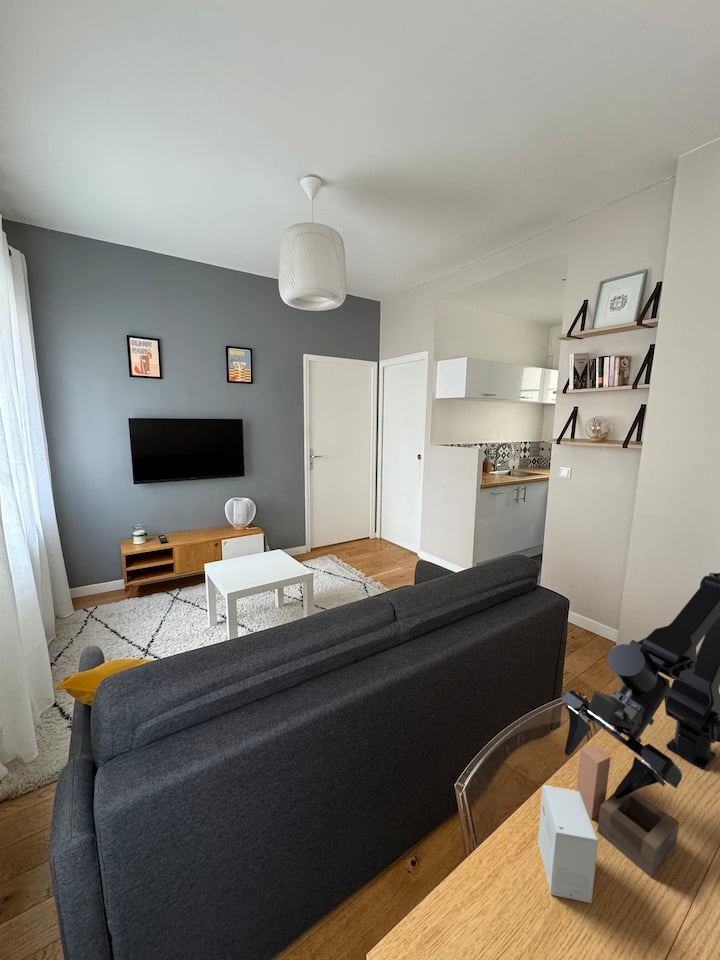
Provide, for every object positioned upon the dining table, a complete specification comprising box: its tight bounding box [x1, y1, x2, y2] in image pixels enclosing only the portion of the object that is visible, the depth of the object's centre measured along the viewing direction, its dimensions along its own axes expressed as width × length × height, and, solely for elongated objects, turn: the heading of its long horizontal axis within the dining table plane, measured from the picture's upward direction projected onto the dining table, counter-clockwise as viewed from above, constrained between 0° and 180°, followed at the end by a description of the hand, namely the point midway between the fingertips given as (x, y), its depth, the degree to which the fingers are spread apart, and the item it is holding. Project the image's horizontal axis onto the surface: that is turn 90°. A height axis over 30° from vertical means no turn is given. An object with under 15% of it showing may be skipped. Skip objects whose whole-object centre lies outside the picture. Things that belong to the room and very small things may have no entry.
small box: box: [537, 784, 599, 904], centre depth 61 cm, size 8×6×10 cm
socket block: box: [596, 790, 680, 878], centre depth 66 cm, size 8×8×5 cm
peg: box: [575, 742, 611, 821], centre depth 70 cm, size 3×3×11 cm
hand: (589, 774), depth 70 cm, fingers open, 9 cm apart
